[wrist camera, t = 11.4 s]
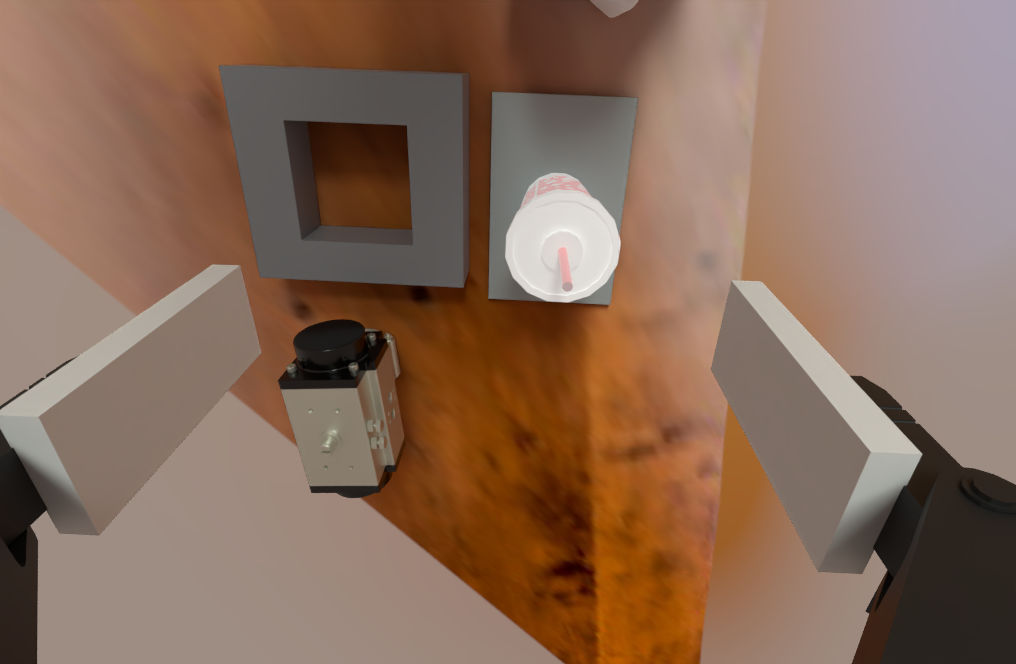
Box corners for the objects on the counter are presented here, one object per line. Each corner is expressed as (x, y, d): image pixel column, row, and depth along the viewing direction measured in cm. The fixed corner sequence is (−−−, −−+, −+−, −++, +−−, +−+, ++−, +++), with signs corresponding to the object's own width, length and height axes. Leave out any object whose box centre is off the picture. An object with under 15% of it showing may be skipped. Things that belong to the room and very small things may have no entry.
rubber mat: (492, 91, 34) (492, 92, 33) (636, 97, 33) (637, 97, 33) (489, 295, 40) (488, 298, 39) (609, 301, 40) (610, 304, 39)
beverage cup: (539, 265, 38) (541, 367, 26) (494, 191, 36) (472, 263, 23) (617, 222, 36) (660, 309, 24) (575, 142, 34) (598, 191, 22)
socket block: (248, 64, 34) (218, 65, 30) (469, 73, 33) (462, 74, 30) (281, 260, 40) (259, 277, 36) (469, 269, 39) (463, 287, 36)
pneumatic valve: (362, 413, 46) (309, 521, 35) (335, 287, 40) (262, 369, 30) (425, 412, 45) (391, 521, 35) (406, 285, 40) (358, 368, 29)
